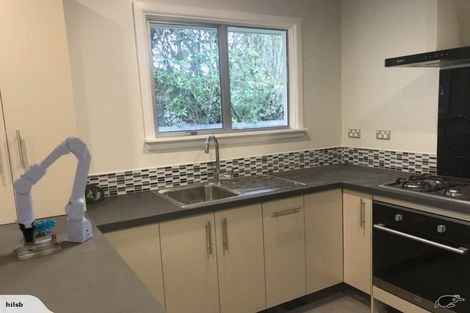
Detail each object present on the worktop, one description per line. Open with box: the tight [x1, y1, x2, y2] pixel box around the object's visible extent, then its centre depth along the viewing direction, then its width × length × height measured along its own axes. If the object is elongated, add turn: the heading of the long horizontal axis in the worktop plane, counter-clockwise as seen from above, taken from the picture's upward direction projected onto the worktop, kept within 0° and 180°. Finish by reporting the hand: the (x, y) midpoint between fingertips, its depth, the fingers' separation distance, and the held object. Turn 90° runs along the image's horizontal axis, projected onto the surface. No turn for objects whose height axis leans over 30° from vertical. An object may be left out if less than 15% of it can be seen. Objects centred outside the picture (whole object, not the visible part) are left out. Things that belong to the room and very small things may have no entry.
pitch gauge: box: [15, 233, 62, 262], centre depth 143 cm, size 14×15×4 cm
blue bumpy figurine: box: [34, 218, 57, 238], centre depth 161 cm, size 11×6×10 cm
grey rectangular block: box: [21, 232, 36, 248], centre depth 142 cm, size 4×7×6 cm, turn 34°
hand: (29, 240), depth 144 cm, fingers open, 5 cm apart
